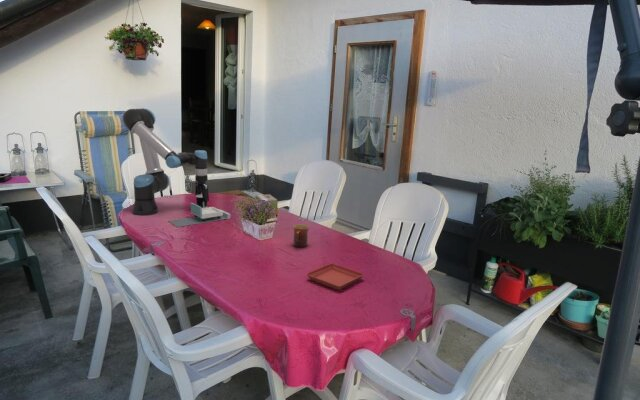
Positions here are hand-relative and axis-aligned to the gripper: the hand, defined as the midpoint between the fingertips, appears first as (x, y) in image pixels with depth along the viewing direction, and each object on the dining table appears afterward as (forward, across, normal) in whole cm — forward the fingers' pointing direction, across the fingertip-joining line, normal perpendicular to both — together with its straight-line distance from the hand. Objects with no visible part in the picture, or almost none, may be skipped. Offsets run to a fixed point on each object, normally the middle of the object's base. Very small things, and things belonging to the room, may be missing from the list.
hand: (202, 209), depth 280 cm
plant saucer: (+2, +129, 0) cm, 129 cm away
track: (+2, +16, -9) cm, 18 cm away
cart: (+2, +16, -4) cm, 17 cm away
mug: (+2, +87, +13) cm, 88 cm away
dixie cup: (+2, 0, 0) cm, 2 cm away
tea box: (+2, +37, +25) cm, 45 cm away
